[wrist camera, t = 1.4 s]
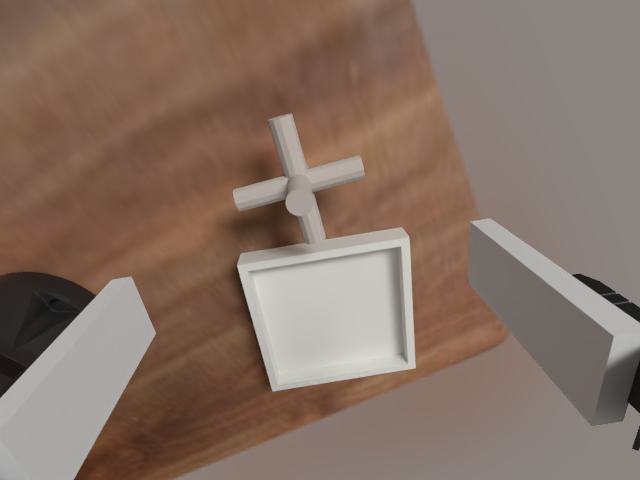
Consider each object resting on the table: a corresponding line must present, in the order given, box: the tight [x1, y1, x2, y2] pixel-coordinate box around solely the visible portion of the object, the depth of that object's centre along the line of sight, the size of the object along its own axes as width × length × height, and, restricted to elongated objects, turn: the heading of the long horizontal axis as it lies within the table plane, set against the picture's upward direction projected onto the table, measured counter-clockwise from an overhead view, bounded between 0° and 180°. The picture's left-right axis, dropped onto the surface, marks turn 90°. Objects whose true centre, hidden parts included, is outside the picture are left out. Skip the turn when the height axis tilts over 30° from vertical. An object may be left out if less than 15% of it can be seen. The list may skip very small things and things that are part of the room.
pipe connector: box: [233, 114, 365, 245], centre depth 27 cm, size 10×10×10 cm
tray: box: [237, 227, 416, 391], centre depth 37 cm, size 16×16×2 cm
